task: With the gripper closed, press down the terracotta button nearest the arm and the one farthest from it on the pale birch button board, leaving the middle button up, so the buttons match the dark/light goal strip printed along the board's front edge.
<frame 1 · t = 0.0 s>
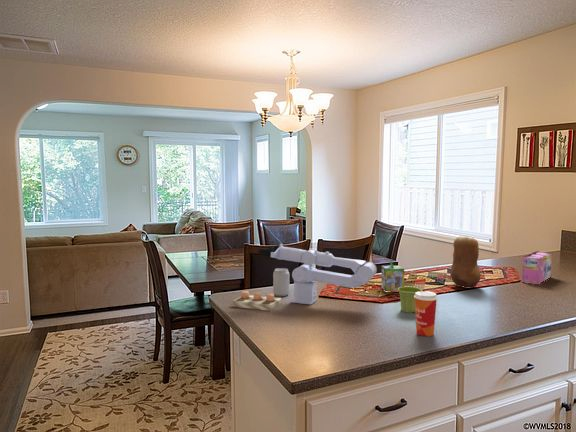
hand: (262, 249, 191), 22 cm above the worktop, tool horizontal, fingers open, 7 cm apart
button near: (270, 298, 178), point 4 cm above the worktop, slide at 0.0 cm
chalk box: (392, 291, 202), on the worktop
can: (281, 295, 197), on the worktop
button far: (244, 295, 182), point 4 cm above the worktop, slide at 0.0 cm
butternut squash: (464, 287, 208), on the worktop
plant pot: (409, 310, 171), on the worktop
paper cup: (425, 334, 145), on the worktop
gum box: (536, 280, 221), on the worktop
button board: (257, 304, 180), on the worktop
button mid: (257, 296, 180), point 4 cm above the worktop, slide at 0.0 cm
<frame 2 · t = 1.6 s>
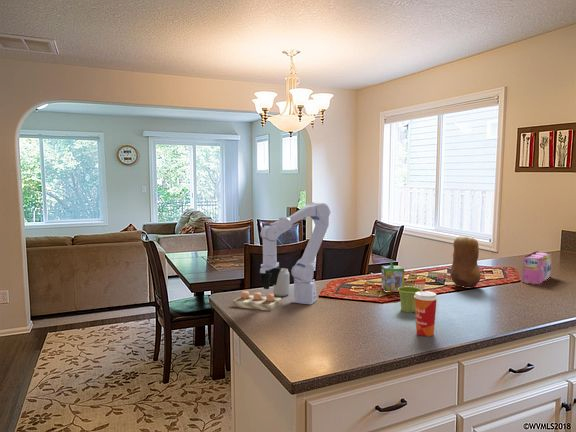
hand: (270, 286, 177), 8 cm above the worktop, tool pointing down, fingers open, 7 cm apart
nothing on the worktop moved.
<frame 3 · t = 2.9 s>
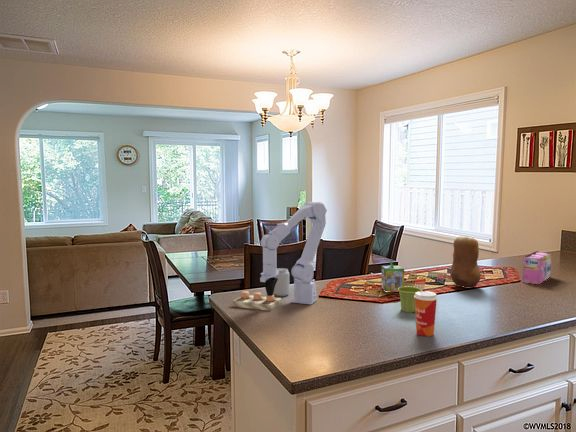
hand: (270, 295, 178), 5 cm above the worktop, tool pointing down, fingers closed, pressing on button near
button near: (270, 298, 178), point 3 cm above the worktop, slide at 0.2 cm, touching gripper
everything else where it was.
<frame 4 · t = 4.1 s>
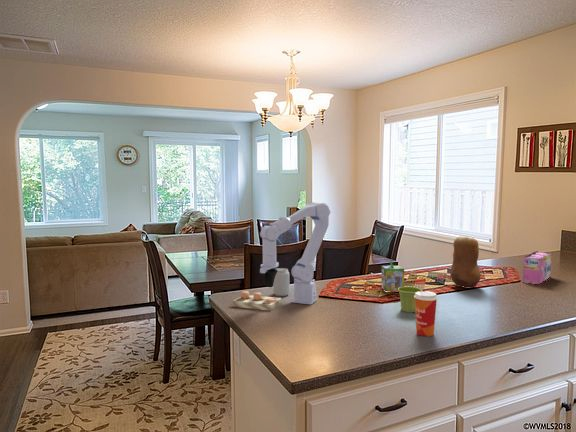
hand: (269, 286, 177), 8 cm above the worktop, tool pointing down, fingers closed
button near: (270, 302, 178), point 2 cm above the worktop, slide at 2.0 cm
everything else where it was.
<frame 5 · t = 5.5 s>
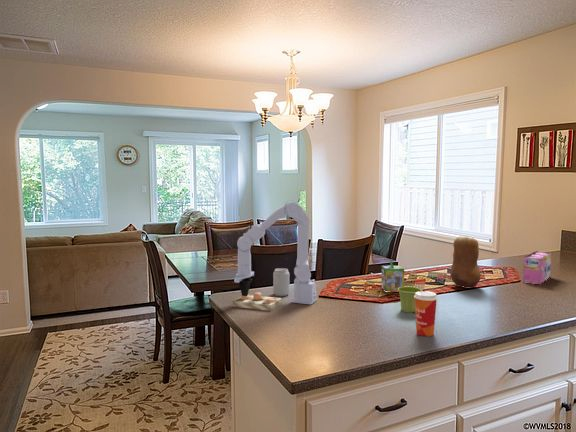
hand: (244, 295, 182), 4 cm above the worktop, tool pointing down, fingers closed, pressing on button far
button far: (245, 298, 183), point 2 cm above the worktop, slide at 1.5 cm, touching gripper
everything else where it was.
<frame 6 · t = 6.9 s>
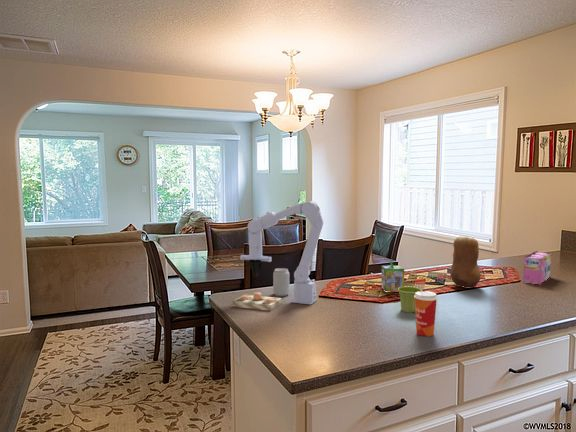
hand: (256, 276, 188), 10 cm above the worktop, tool pointing down, fingers closed
button far: (245, 299, 183), point 2 cm above the worktop, slide at 2.0 cm
everything else where it was.
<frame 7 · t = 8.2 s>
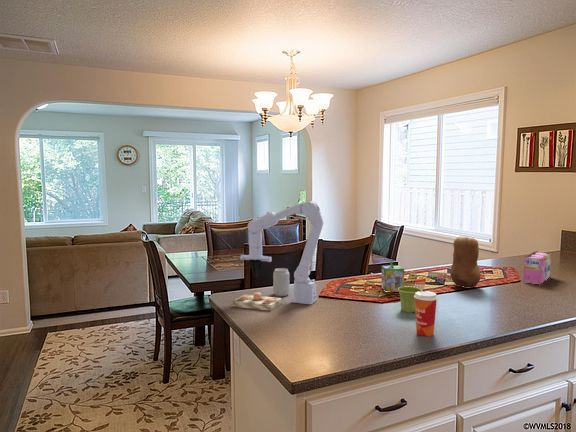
hand: (256, 276, 188), 10 cm above the worktop, tool pointing down, fingers closed
nothing on the worktop moved.
at the end: button near slide at 2.0 cm; button far slide at 2.0 cm; button mid slide at 0.0 cm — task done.
